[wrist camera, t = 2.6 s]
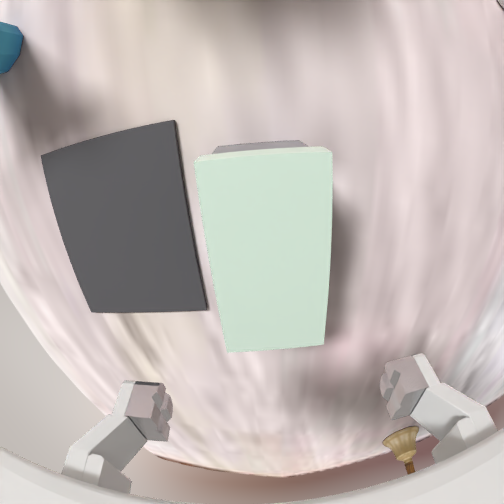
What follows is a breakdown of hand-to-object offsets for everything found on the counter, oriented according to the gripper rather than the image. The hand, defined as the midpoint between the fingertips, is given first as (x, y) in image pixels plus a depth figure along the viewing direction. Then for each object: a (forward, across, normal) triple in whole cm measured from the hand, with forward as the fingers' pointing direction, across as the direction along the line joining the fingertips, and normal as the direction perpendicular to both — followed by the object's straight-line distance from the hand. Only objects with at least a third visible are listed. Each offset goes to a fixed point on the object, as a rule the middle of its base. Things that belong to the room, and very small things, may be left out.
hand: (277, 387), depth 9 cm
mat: (+16, +12, 0) cm, 20 cm away
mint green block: (+11, 0, 0) cm, 11 cm away
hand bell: (+16, -27, +49) cm, 58 cm away
